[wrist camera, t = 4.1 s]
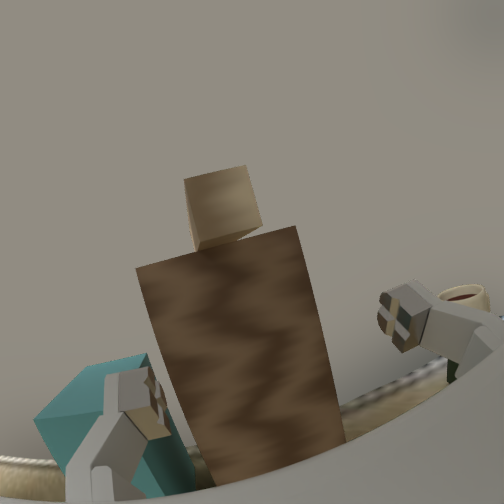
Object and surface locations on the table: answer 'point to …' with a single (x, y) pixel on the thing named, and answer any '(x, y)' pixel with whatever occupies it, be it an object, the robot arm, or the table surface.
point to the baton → (221, 207)
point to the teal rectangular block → (91, 407)
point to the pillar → (245, 353)
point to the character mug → (468, 297)
